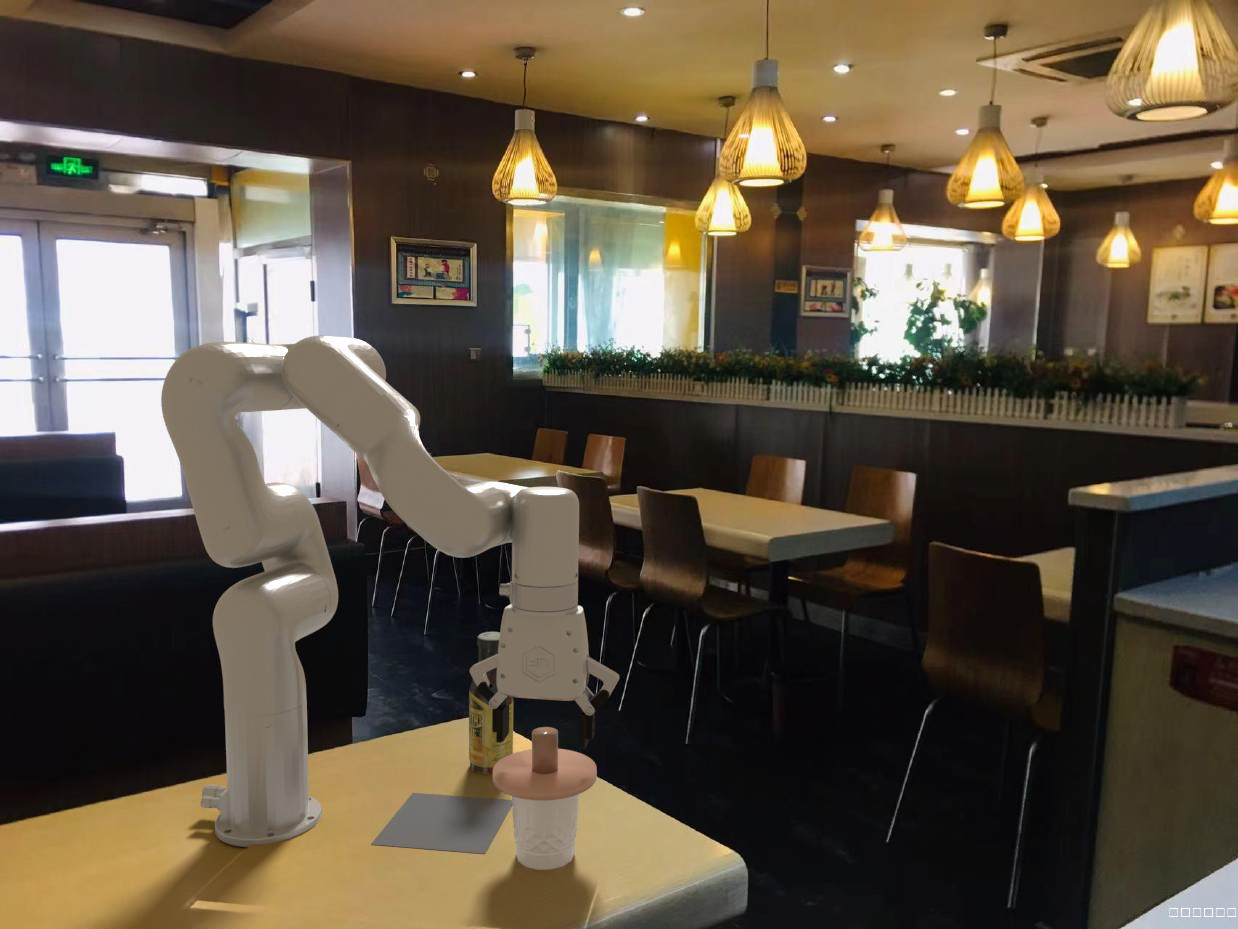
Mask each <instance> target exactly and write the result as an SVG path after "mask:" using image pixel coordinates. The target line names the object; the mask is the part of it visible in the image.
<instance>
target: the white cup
mask: <svg viewBox="0 0 1238 929" xmlns="http://www.w3.org/2000/svg"><path fill="white" fill-rule="evenodd" d="M579 795H580V794H578V795H575V796H571V797H568V798H563V799H556V800H528V799H521V798H517V797H513V796H511V800H512V807H511V808H512V818H513V819H512V820H513V831H514V832H513V833H514V834H513V835H514V841H515V855H516V856H515V857H516V858H517V859H516V860H517V862H518V863H519V864H520V865H522V866H524V867H525V868H529V869H533V870H536V871H537V870H540V871H541V870H546V871H547V870H553V869H559V868H562V867H564V866H566V865H568V864H569V863H571V862H572V861H573V859H574V857H575V853H576V837H577V826H578V825H577V823H578V812H579Z"/></svg>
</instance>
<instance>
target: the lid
mask: <svg viewBox="0 0 1238 929" xmlns="http://www.w3.org/2000/svg"><path fill="white" fill-rule="evenodd" d="M597 768H598V767H597V764H596V763H595V761H594V760H593V759H592V758H591V757H589V756H587V755H585V754H584V753H581V752H577V751H574V750H571V749H564V748H559V731H558V729H556V728H555V727H551V726H550V727H549V726H542V727H537V728H534V729H533V730H532V731H531V749H524V750H520V751H517V752H513V754H510V755H508V756H506V757H504V758H502V759H501V760H499V761H498V762H497V763H496V764H495V766H494V768H493V774H492V783H493V785H494V787H495V788H496V789H498V791H500V792H501V793H504V794H505V795H508V796H511V797H512V796H513V797H517V798H521V799H528V800H556V799H563V798H568V797H571V796H575V795H578V794H579V795H580V794H582V793H584V792H586V791H588V790H590V788H592V787H593V786H594V785H595V783H596V781H597V778H598V776H597V775H598V774H597V773H598V770H597Z"/></svg>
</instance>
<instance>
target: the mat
mask: <svg viewBox="0 0 1238 929" xmlns="http://www.w3.org/2000/svg"><path fill="white" fill-rule="evenodd" d="M511 808H513V807H512V799H503V798H488V797H476V796H475V797H473V796H463V795H462V796H460V795H450V794H449V795H448V794H434V793H433V794H432V793H422V792H421V793H420V792H412V793H411V794H410V795H409V796H408V798H407V799H406V800H405V802H404V803H403V804H402V805H401V806H400V808H399V809H398V810H397V811H396V813H395V814H394V815H393V816H392V817H391V819H390V820H389V822H388V823H387V824H386V825H385V826H384V828H382V830H381V831H380V832H379V834H378V835H377V836H376V837H375V839H374V840H373V841H372V842H371V843H370V846H380V847H392V848H394V847H395V848H404V849H405V848H406V849H407V848H408V849H418V850H419V849H420V850H428V851H430V850H431V851H440V852H442V851H443V852H452V853H453V852H455V853H466V854H467V853H468V854H478V855H480V854H481V855H486V854H487V851H488V849H490V846H491V845H492V842H493V841H494V839H495V837H496V835H497V834H498V832H499V830H500V828H501V827H502V824H503V823H504V821H505V819H506V817H507V816H508V814H509V812H510V811H511Z"/></svg>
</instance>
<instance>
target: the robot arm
mask: <svg viewBox="0 0 1238 929" xmlns="http://www.w3.org/2000/svg"><path fill="white" fill-rule="evenodd" d="M386 370H387V368H386V365H385V363H384V360H383V358H382V356H381V355H380V354H379V352H378V351H377V349H376V348H374V347H373V346H372V345H371V344H369V343H368V342H366V341H363V340H361V339H359V338H354V337H349V336H347V337H346V336H338V335H337V336H334V335H311V336H308V337H305V338H303V339H300V340H298V341H297V342H296V343H285V344H284V343H283V344H280V343H279V344H278V343H277V344H274V343H273V344H269V343H268V344H267V343H255V342H254V343H253V342H242V341H241V342H240V341H213V342H207V343H202V344H200V345H197V346H193V347H192V348H190V349H189V350H187V351H185V352H184V353H182V354H181V355H180V356H178V358H177V359H176V360H175V361H174V362H173V364H172V365H171V366H170V369H169V370H168V371H167V374H166V376H165V378H164V381H163V385H162V388H161V398H160V403H161V404H160V405H161V411H162V417H163V420H164V425H165V427H166V431H167V433H168V435H169V438H170V440H171V443H172V445H173V447H174V449H175V452H176V455H177V458H178V460H179V462H180V466H181V469H182V473H183V476H184V480H185V481H184V482H185V485H186V489H187V492H188V496H189V498H190V502H191V506H192V509H193V512H194V516H195V519H196V523H197V526H198V530H199V533H200V536H201V540H202V543H203V545H204V548H205V551H206V553H207V555H208V557H209V558H211V560H212V561H213V562H215V563H216V564H218V565H220V566H222V567H225V568H231V569H235V568H243V567H248V566H252V565H255V564H258V563H261V564H262V568H263V569H264V571H262V572H260V573H257V574H255V575H252V576H249V577H246V578H244V579H242V580H239V581H238V582H235V584H233V585H232V586H230V587H229V588H228V589H226V591H224V592H223V593H222V595H221V596H220V598H218V601H217V603H216V604H215V608H214V609H213V610H214V611H213V615H212V628H213V634H214V639H215V643H216V647H217V650H218V651H217V652H218V654H219V660H220V666H221V674H222V684H223V686H222V688H223V708H224V725H225V727H224V728H225V730H224V731H225V751H226V752H225V755H226V786H225V785H220V784H210V783H209V784H208V783H207V784H205V786H204V787H203V789H202V791H201V800H200V807H201V808H205V809H206V808H207V809H213V808H214V809H217V810H218V811H219V815H218V816H217V817H216V819H215V822H214V834H215V836H216V837H217V838H218V840H220V841H222V842H223V843H226V844H228V845H231V846H235V847H241V848H242V847H243V848H249V847H250V846H253V845H254V846H257V845H265V844H266V845H269V844H273V843H279V842H282V841H286V840H289V839H292V838H295V837H298V836H300V835H302V834H304V833H306V832H307V831H310V830H311V829H312V828H314V827H315V826H316V825H317V824H318V823H319V822H320V820H321V819H322V817H323V806H322V804H321V803H320V802H319V800H317V799H316V798H314V797H312V796H310V793H309V792H310V789H309V788H310V784H309V782H310V781H309V780H310V779H309V751H308V750H309V749H308V747H309V746H308V745H309V744H308V741H309V740H308V709H307V706H308V705H307V704H308V702H307V700H308V699H307V683H306V676H305V675H306V674H305V671H304V668H303V665H302V663H301V660H300V658H299V655H298V652H297V651H296V642H297V641H299V640H300V639H302V638H304V637H305V638H306V637H307V636H309V635H311V634H313V633H315V632H317V631H318V630H320V629H321V628H323V627H324V626H326V625H327V624H328V623H330V621H331V620H332V619H333V617H334V615H335V614H336V611H337V608H338V603H339V588H338V584H337V583H338V582H337V578H336V574H335V572H334V568H333V564H332V562H331V556H330V554H329V550H328V546H327V544H326V540H325V537H324V532H323V529H322V526H321V523H320V519H319V516H318V513H317V511H316V508H315V507H314V505H313V504H312V501H310V499H309V498H308V497H307V495H305V493H304V492H302V491H301V490H300V489H299V488H297V487H295V486H293V485H291V484H288V483H286V482H285V483H283V482H268V483H266V482H265V480H264V478H263V474H262V473H261V468H260V466H259V462H258V458H257V453H256V451H255V449H254V446H253V443H252V442H251V441H250V439H249V438H248V437H247V435H246V433H245V432H244V431H243V429H242V428H241V427H240V426H239V424H238V423H237V421H236V419H235V416H236V415H237V414H238V413H255V412H268V411H269V412H272V411H283V410H284V411H289V410H301V409H304V410H305V409H306V410H308V411H309V412H310V413H311V414H312V415H313V416H314V417H316V419H318V420H319V421H320V423H322V424H323V425H324V426H326V427H327V428H328V430H330V431H332V432H333V434H335V435H336V436H337V438H339V439H340V440H341V441H343V443H345V445H346V446H348V448H350V449H351V450H352V451H353V452H354V453H355V454H356V455H358V456H359V457H360V458H361V459H362V460H363V461H364V462H365V463H366V465H367V466H368V469H369V471H370V475H371V477H372V479H373V481H374V483H375V485H376V486H377V488H378V490H379V492H380V494H381V496H382V497H383V499H384V500H385V502H386V503H387V504H388V506H389V507H390V508H391V509H392V511H393V512H394V513H395V514H396V516H398V517H399V518H400V519H401V520H402V521H403V522H405V524H407V526H409V527H410V528H411V529H412V530H413V531H414V532H415V533H417V535H418V536H420V537H421V538H422V539H423V540H424V541H426V542H427V543H428V544H430V545H431V546H432V547H433V548H434V549H437V550H438V551H440V552H442V553H444V554H445V555H446V556H450V557H455V558H463V559H465V558H471V557H475V556H477V555H480V554H481V553H484V552H485V551H487V550H490V549H491V548H495V547H497V546H502V545H504V544H508V543H512V544H511V581H510V582H507V583H500V585H499V592H498V593H499V596H505V597H506V598H508V599H509V605H507V606H505V608H504V609H503V614H502V618H501V624H500V637H499V647H498V654H496V655H494V656H492V657H489V658H487V659H485V660H483V661H481V662H479V663H478V662H477V663H475V664H473V665H472V666H471V667H470V668H469V673H470V676H471V677H472V680H474V682H475V684H476V685H477V689H478V691H479V693H480V694H481V695H482V696H483V697H484V698H485V699H486V700H487V701H488V702H489V706H490V707H491V708H492V731H493V732H496V742H497V743H501V742H503V741H504V740H505V738H506V737H507V735H508V734H509V703H508V700H506V697H507V696H509V697H513V698H518V699H519V698H521V699H530V700H531V699H532V700H533V699H534V700H549V701H564V702H565V701H566V702H567V701H568V702H569V701H570V702H571V701H575V702H576V704H577V705H578V706H579V708H580V709H581V712H580V714H579V718H578V721H579V723H578V725H579V726H578V748H579V749H581V750H586V749H587V746H588V744H589V742H590V740H594V737H595V732H596V731H595V727H596V726H595V724H596V711H597V710H598V709H599V708H601V707H602V705H604V704H605V703H606V702H607V701H608V700H609V698H610V697H611V695H612V693H613V691H614V689H615V688H616V686H617V684H618V682H619V680H620V674H619V673H617V672H616V671H614V670H613V669H610V668H609V667H608V666H606V665H604V664H601V663H600V662H599V661H597V660H596V659H593V658H592V657H590V655H589V640H588V630H587V622H586V617H585V612H584V608H583V606H581V605H578V602H579V598H578V597H579V550H580V549H579V542H580V538H579V537H580V536H579V534H580V501H579V498H578V495H577V494H576V492H574V491H573V490H572V489H568V488H565V487H559V486H533V487H528V486H521V485H517V484H510V483H507V482H503V481H502V482H501V481H493V480H492V481H491V480H490V481H489V480H488V481H481V482H477V483H475V484H469V485H465V486H464V485H463V484H461V483H460V482H459V481H458V480H457V479H455V478H454V477H453V476H452V475H450V474H449V472H447V471H446V470H445V469H444V468H443V467H442V466H441V465H440V464H439V463H438V462H437V461H436V460H435V458H433V457H432V456H431V455H430V453H429V452H428V450H427V449H426V448H425V446H424V445H423V442H422V440H421V438H420V431H419V429H420V424H421V415H420V412H419V410H418V408H417V407H416V406H414V405H413V404H412V403H411V402H410V401H409V400H408V399H406V398H405V397H404V396H403V395H402V394H401V393H399V391H397V390H396V389H394V387H392V386H391V385H390V384H389V383H388V382H387V381H386V379H387V371H386ZM496 667H497V675H496V683H497V688H496V687H495V686H494V685H493V684H492V682H491V681H490V680H488V678H487V675H486V672H488V671H490V670H492V669H494V668H496ZM590 675H592V676H593V677H596V678H597V679H599V680H600V681H602V683H603V685H602V687H601V688H600V689H599V690H598V691H597V692H596V693H595V694H594V693H593V691H591V689H590V688H589V687H588V685H589V684H588V683H589V680H590Z"/></svg>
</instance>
